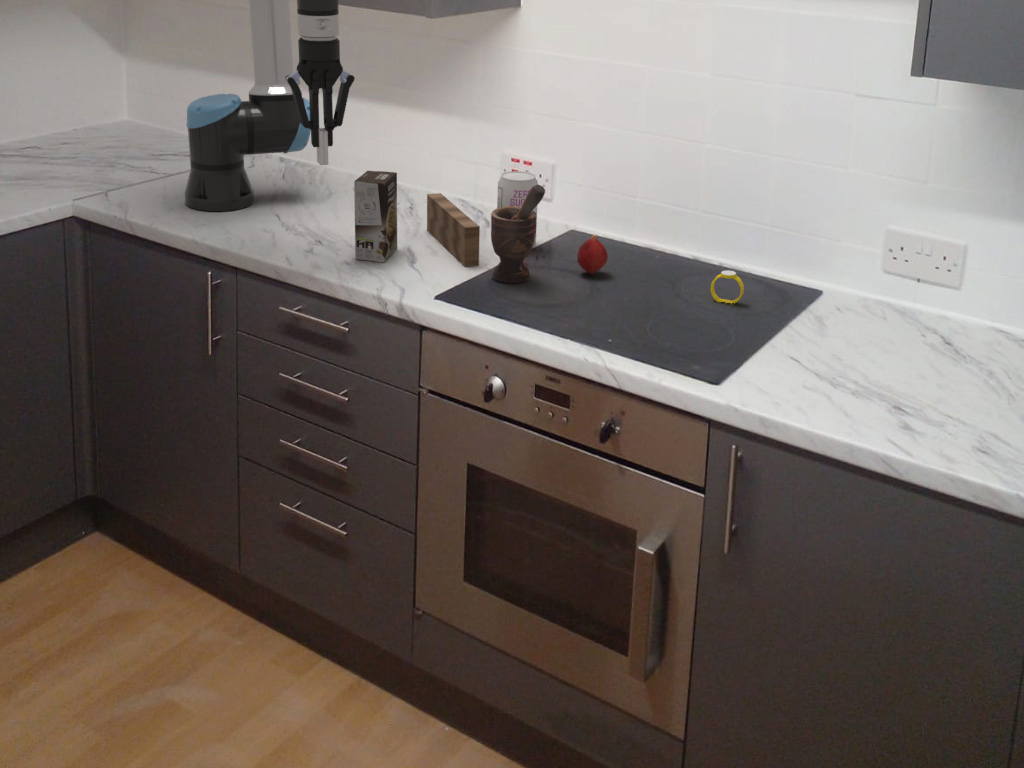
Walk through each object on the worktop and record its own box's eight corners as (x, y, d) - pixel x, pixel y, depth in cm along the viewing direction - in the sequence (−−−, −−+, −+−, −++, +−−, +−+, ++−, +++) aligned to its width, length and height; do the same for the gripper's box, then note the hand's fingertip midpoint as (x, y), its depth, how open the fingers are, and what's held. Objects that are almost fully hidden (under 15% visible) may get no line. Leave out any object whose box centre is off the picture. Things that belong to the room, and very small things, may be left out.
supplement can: (515, 237, 259) (518, 168, 253) (543, 247, 254) (546, 176, 248) (487, 245, 254) (489, 174, 248) (515, 255, 249) (518, 183, 243)
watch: (709, 303, 229) (710, 273, 226) (712, 298, 231) (713, 268, 229) (740, 306, 227) (742, 276, 224) (743, 301, 229) (745, 271, 227)
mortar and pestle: (555, 279, 237) (560, 178, 228) (534, 292, 230) (539, 189, 222) (502, 268, 242) (506, 169, 233) (481, 280, 235) (483, 179, 226)
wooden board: (427, 230, 262) (427, 194, 258) (440, 229, 263) (440, 193, 259) (464, 266, 242) (465, 227, 238) (478, 265, 243) (479, 226, 239)
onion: (584, 280, 237) (586, 241, 233) (571, 271, 241) (573, 232, 238) (611, 277, 239) (613, 238, 236) (597, 268, 244) (600, 229, 240)
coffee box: (385, 263, 242) (384, 183, 235) (354, 259, 243) (352, 180, 236) (398, 248, 250) (398, 171, 243) (368, 245, 251) (367, 168, 244)
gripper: (287, 41, 219) (293, 170, 229) (358, 39, 224) (361, 166, 234) (279, 34, 226) (284, 160, 236) (348, 33, 230) (351, 156, 240)
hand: (322, 163), depth 235 cm, fingers closed
